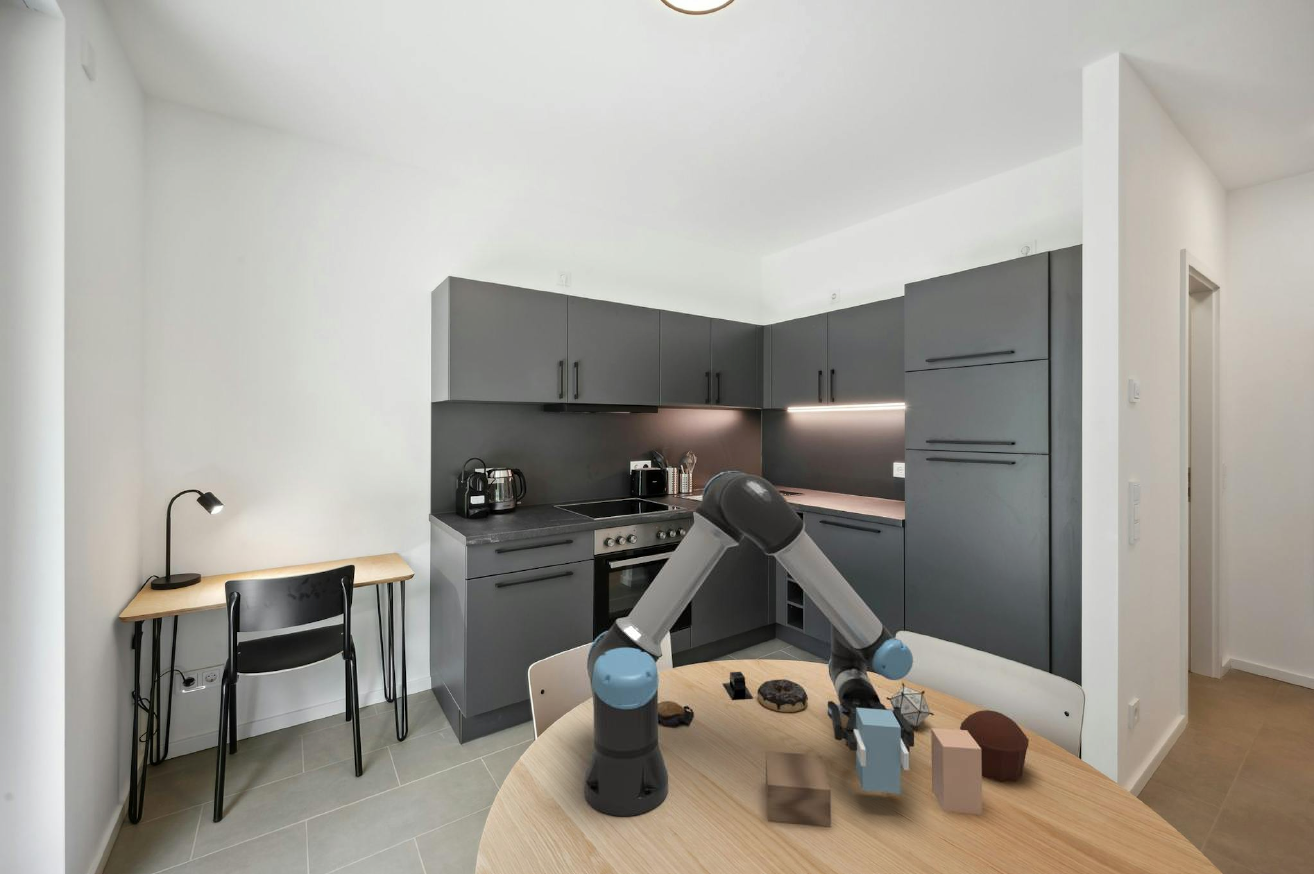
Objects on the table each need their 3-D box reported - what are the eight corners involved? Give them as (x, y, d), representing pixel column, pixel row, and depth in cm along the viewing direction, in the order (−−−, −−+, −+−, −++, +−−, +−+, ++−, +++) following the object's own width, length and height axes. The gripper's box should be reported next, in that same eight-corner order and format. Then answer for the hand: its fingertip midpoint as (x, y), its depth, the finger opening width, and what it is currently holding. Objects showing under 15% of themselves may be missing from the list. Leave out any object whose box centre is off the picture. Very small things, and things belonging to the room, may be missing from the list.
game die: (919, 741, 123) (950, 710, 121) (898, 738, 119) (929, 706, 116) (892, 705, 131) (920, 675, 128) (871, 702, 126) (900, 671, 124)
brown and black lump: (642, 727, 125) (641, 710, 124) (650, 709, 133) (650, 693, 133) (689, 732, 122) (689, 715, 122) (695, 713, 130) (695, 697, 130)
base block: (768, 820, 93) (767, 784, 93) (766, 783, 103) (765, 751, 103) (830, 826, 91) (830, 789, 91) (822, 788, 101) (822, 755, 101)
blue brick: (862, 790, 94) (863, 724, 94) (855, 769, 100) (856, 707, 100) (900, 793, 93) (900, 727, 93) (891, 772, 99) (891, 710, 99)
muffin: (964, 745, 115) (964, 696, 115) (1029, 763, 109) (1029, 711, 109) (956, 773, 105) (956, 720, 105) (1027, 795, 99) (1027, 738, 99)
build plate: (759, 704, 135) (758, 685, 135) (729, 706, 134) (729, 687, 134) (744, 681, 147) (743, 663, 147) (716, 683, 146) (716, 665, 146)
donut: (776, 688, 142) (776, 672, 142) (817, 704, 134) (817, 687, 134) (748, 702, 135) (748, 685, 135) (790, 720, 126) (790, 702, 126)
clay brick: (943, 811, 95) (943, 746, 95) (931, 789, 101) (931, 728, 101) (981, 814, 94) (981, 749, 94) (967, 792, 100) (967, 730, 100)
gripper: (809, 674, 116) (824, 731, 93) (906, 680, 113) (947, 742, 90) (809, 710, 116) (824, 776, 93) (906, 718, 113) (946, 788, 90)
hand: (884, 759), depth 92 cm, fingers closed on blue brick, 6 cm apart
